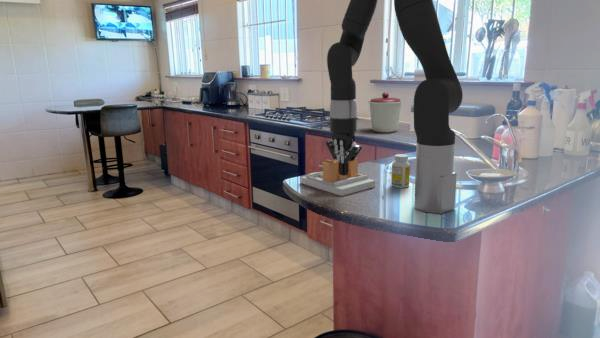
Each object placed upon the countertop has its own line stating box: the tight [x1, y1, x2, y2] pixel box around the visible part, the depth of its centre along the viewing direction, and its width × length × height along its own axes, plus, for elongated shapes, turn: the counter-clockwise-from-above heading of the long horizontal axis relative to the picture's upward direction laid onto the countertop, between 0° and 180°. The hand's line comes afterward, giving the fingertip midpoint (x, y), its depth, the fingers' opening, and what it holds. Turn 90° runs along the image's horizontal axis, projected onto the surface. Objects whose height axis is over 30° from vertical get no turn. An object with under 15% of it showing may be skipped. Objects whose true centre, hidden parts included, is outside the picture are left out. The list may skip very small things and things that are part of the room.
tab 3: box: [347, 156, 359, 177], centre depth 137 cm, size 3×3×7 cm
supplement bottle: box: [390, 153, 411, 189], centre depth 132 cm, size 5×5×10 cm
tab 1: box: [321, 158, 337, 183], centre depth 131 cm, size 3×3×7 cm
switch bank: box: [300, 170, 376, 197], centre depth 136 cm, size 19×14×3 cm
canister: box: [368, 92, 403, 134], centre depth 234 cm, size 18×18×21 cm
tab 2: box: [333, 159, 347, 180], centre depth 134 cm, size 3×3×7 cm
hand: (343, 174), depth 126 cm, fingers closed
